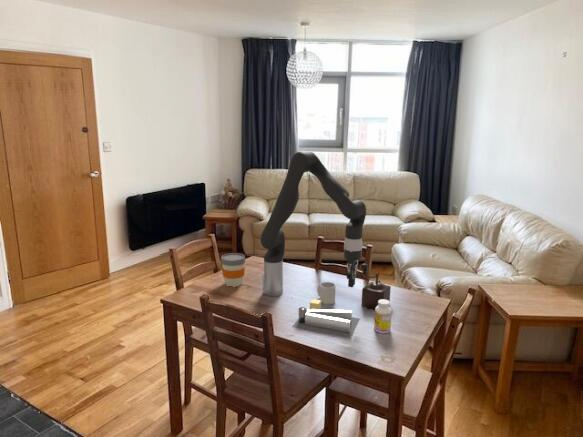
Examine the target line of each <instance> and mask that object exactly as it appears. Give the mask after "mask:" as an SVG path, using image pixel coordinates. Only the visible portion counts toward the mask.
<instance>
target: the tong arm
mask: <svg viewBox="0 0 583 437" xmlns="http://www.w3.org/2000/svg"><path fill="white" fill-rule="evenodd" d="M306 309H307V313H312V314H318V315H324V316H329V317H335V318H341V319H346V320H351V321H352V317H353V313H352V312H353V310H350V309H349V310H348V309H347V310H345V309H321V310H320V309H310V308H306Z"/></svg>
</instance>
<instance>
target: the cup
mask: <svg viewBox="0 0 583 437" xmlns="http://www.w3.org/2000/svg"><path fill="white" fill-rule="evenodd" d="M336 285H337V284H336V283H334V282H332V281H331V282H330V281H324V282H321V283H320V284H318V286H317V294H318V297H319V300H321V304H324V305H333V304H335V302H336V287H337V286H336Z"/></svg>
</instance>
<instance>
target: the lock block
mask: <svg viewBox="0 0 583 437" xmlns="http://www.w3.org/2000/svg"><path fill="white" fill-rule="evenodd" d="M309 309H320V310H322V303H321V300H320V299H315V298H312V300H311V301H310V302H309Z"/></svg>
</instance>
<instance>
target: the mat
mask: <svg viewBox="0 0 583 437" xmlns="http://www.w3.org/2000/svg"><path fill="white" fill-rule="evenodd" d="M307 309H308V308H306V313H307ZM360 320H361V318H360V317H353V316H352V321H351V322H350V332H343V331H338V330H333V329H327V328H322V327H317V326H311V325H306V324H305V323H299V317H298V318H297V319H296V321H295V322H294V324H293V325H292V326H291V327H292V328H295V329H300V330H305V331H310V332H316V333H321V334H326V335H331V336H337V337H341V338H347V339H352V336H353V334H354V332H355V331H356V328H357V326H358V324H359V321H360Z"/></svg>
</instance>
